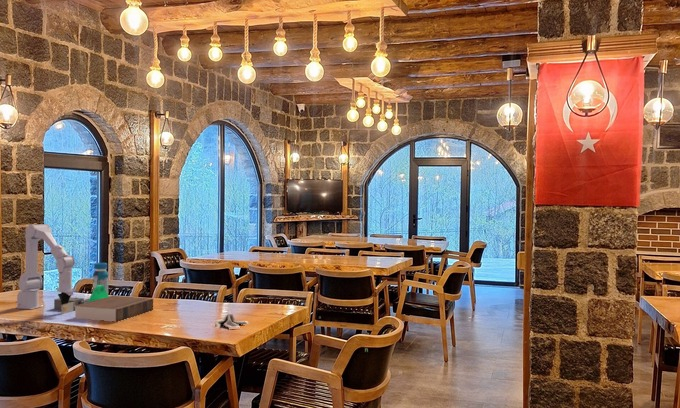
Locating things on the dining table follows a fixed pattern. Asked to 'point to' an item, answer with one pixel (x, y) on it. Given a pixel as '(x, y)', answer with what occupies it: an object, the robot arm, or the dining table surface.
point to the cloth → (229, 322)
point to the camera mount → (98, 293)
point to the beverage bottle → (100, 275)
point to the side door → (67, 307)
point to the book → (113, 308)
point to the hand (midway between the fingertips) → (64, 307)
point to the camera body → (77, 301)
